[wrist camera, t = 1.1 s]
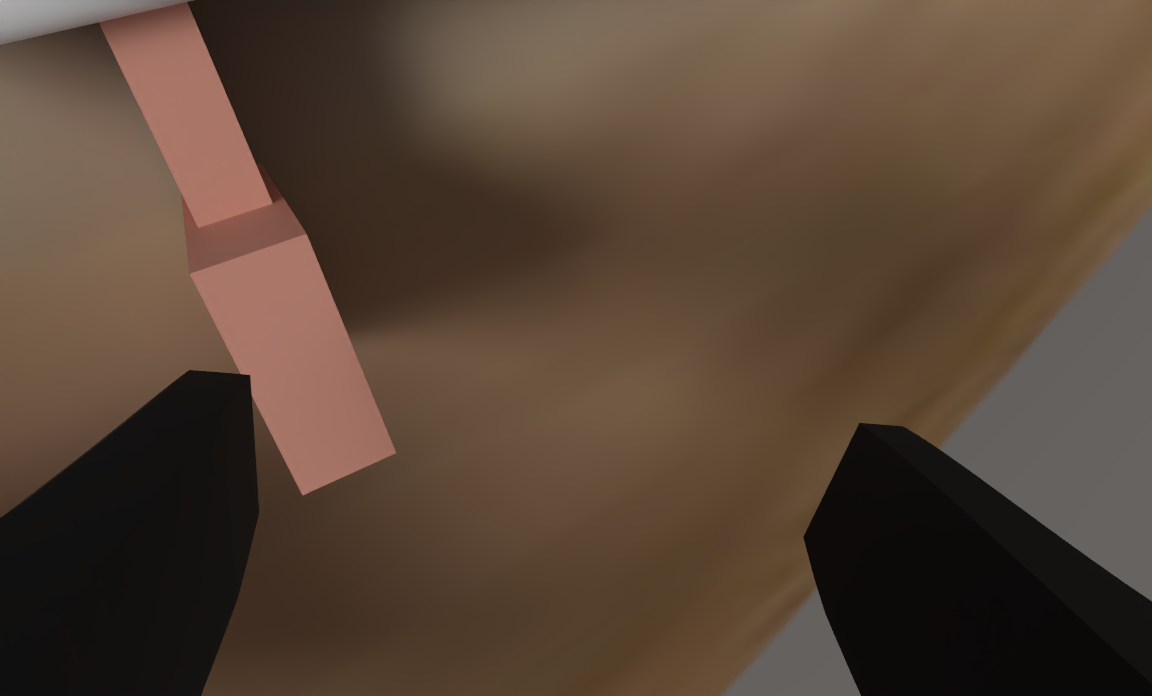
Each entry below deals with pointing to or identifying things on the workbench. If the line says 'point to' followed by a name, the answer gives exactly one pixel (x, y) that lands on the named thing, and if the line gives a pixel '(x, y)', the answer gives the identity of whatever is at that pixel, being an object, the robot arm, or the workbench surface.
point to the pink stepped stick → (251, 256)
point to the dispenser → (65, 15)
